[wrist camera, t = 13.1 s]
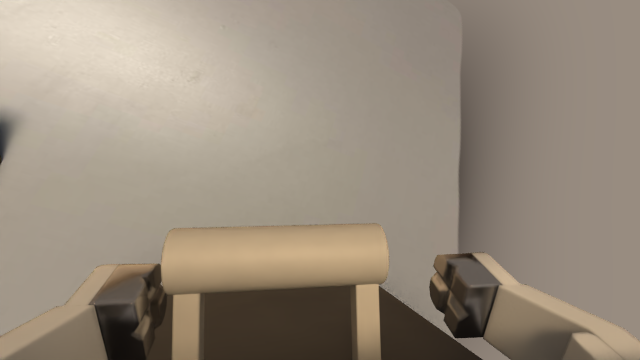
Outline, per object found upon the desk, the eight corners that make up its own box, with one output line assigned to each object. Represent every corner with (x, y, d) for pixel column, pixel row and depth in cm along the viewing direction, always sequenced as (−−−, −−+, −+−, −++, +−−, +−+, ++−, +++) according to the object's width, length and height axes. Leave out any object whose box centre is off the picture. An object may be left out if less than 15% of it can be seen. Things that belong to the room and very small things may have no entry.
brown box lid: (557, 446, 7) (540, 224, 8) (-80, 537, 6) (-54, 240, 6) (365, 287, 23) (363, 214, 23) (177, 297, 21) (179, 218, 21)
